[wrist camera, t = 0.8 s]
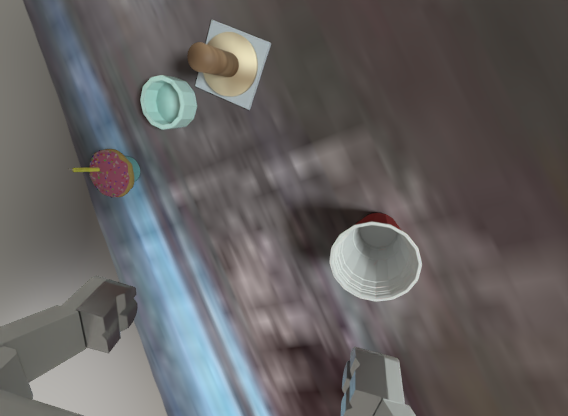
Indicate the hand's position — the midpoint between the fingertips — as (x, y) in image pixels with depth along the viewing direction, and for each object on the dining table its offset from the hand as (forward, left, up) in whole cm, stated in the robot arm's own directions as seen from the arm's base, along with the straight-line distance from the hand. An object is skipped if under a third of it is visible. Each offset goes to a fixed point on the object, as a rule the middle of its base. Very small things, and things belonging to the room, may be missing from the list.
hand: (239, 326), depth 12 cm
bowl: (+3, -32, -41) cm, 52 cm away
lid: (-6, -24, -40) cm, 47 cm away
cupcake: (+18, -38, -41) cm, 59 cm away
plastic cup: (+8, +7, -41) cm, 42 cm away
